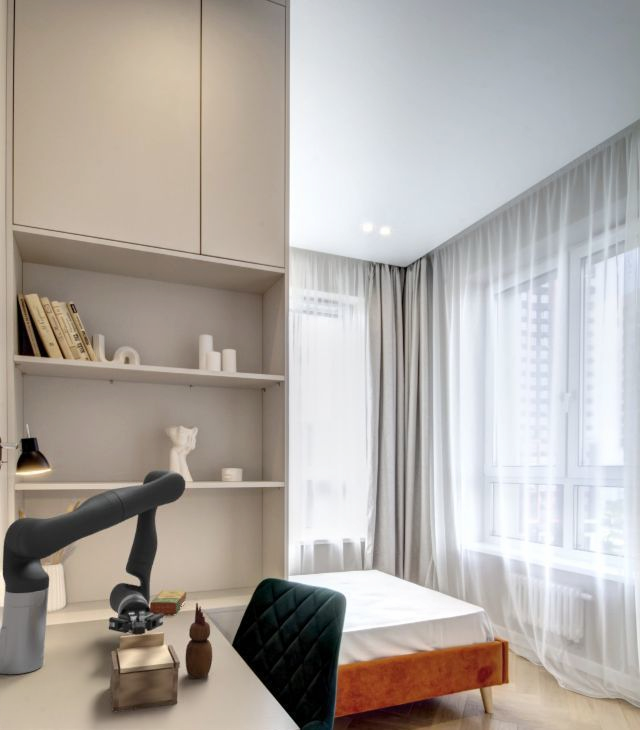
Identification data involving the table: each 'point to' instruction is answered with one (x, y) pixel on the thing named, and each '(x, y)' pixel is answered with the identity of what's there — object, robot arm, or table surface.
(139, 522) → the robot arm
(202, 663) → the wooden figurine
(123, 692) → the light wooden box
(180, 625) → the table surface
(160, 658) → the lid
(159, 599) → the carton
